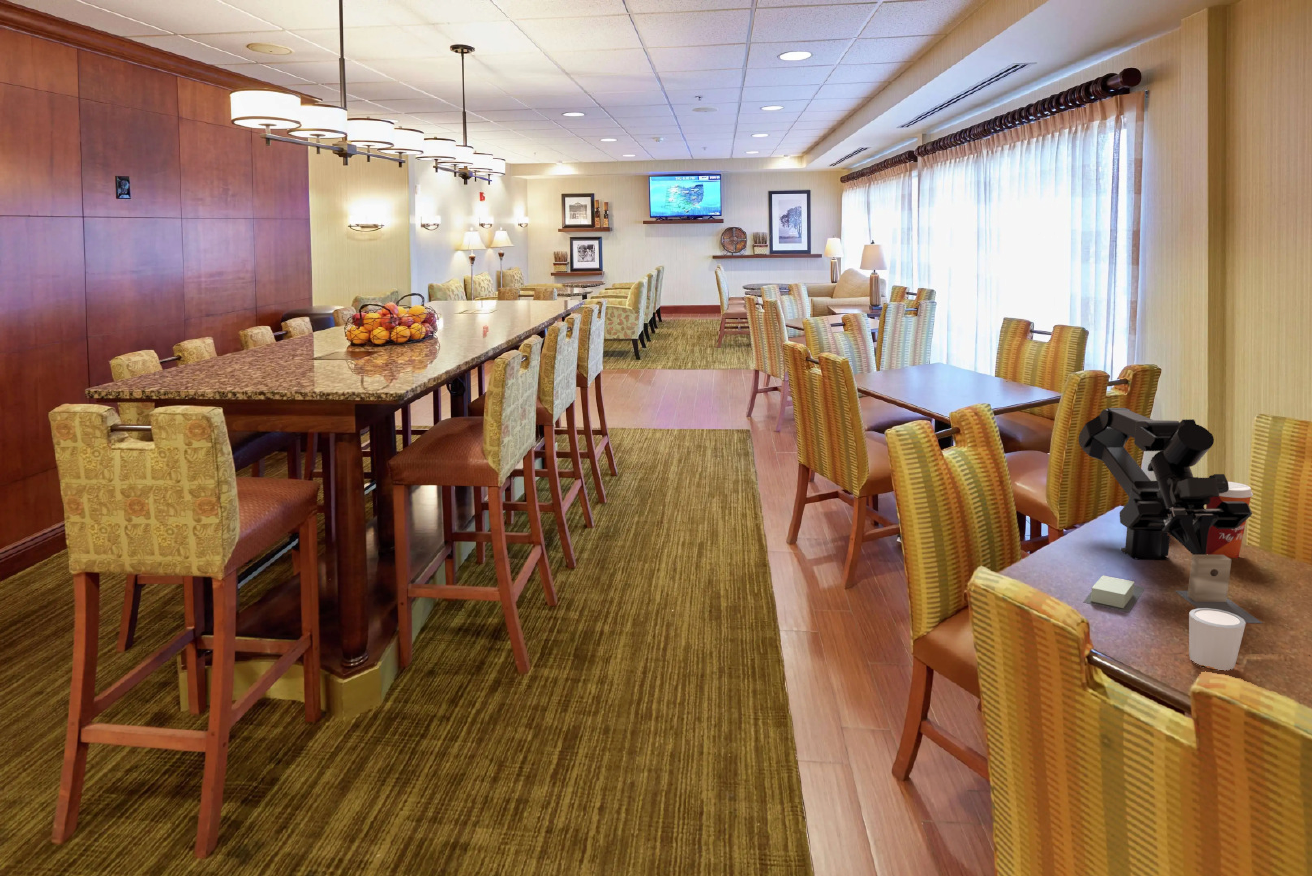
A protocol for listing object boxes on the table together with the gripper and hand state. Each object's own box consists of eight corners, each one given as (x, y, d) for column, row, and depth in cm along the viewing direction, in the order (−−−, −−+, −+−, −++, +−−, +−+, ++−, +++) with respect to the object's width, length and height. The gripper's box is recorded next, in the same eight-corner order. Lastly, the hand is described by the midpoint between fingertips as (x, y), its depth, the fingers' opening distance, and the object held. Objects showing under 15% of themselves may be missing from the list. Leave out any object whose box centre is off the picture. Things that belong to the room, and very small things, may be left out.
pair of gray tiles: (1098, 623, 137) (1099, 619, 137) (1060, 581, 154) (1060, 578, 154) (1263, 627, 134) (1263, 623, 134) (1205, 583, 151) (1205, 580, 151)
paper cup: (1230, 564, 160) (1239, 493, 157) (1189, 552, 167) (1197, 484, 164) (1254, 556, 164) (1263, 486, 161) (1212, 545, 170) (1220, 478, 167)
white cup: (1185, 646, 128) (1190, 603, 127) (1240, 657, 125) (1246, 613, 123) (1182, 665, 123) (1187, 620, 121) (1239, 677, 119) (1245, 631, 118)
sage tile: (1102, 575, 149) (1091, 587, 143) (1134, 581, 146) (1124, 594, 140) (1101, 588, 149) (1090, 601, 144) (1133, 595, 146) (1123, 608, 141)
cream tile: (1187, 595, 145) (1192, 554, 143) (1218, 596, 145) (1223, 554, 143) (1195, 601, 143) (1200, 559, 141) (1226, 602, 142) (1231, 559, 141)
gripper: (1139, 457, 148) (1164, 537, 139) (1252, 456, 146) (1285, 538, 137) (1115, 489, 157) (1138, 566, 148) (1221, 488, 155) (1250, 566, 147)
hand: (1202, 559), depth 145 cm, fingers closed
